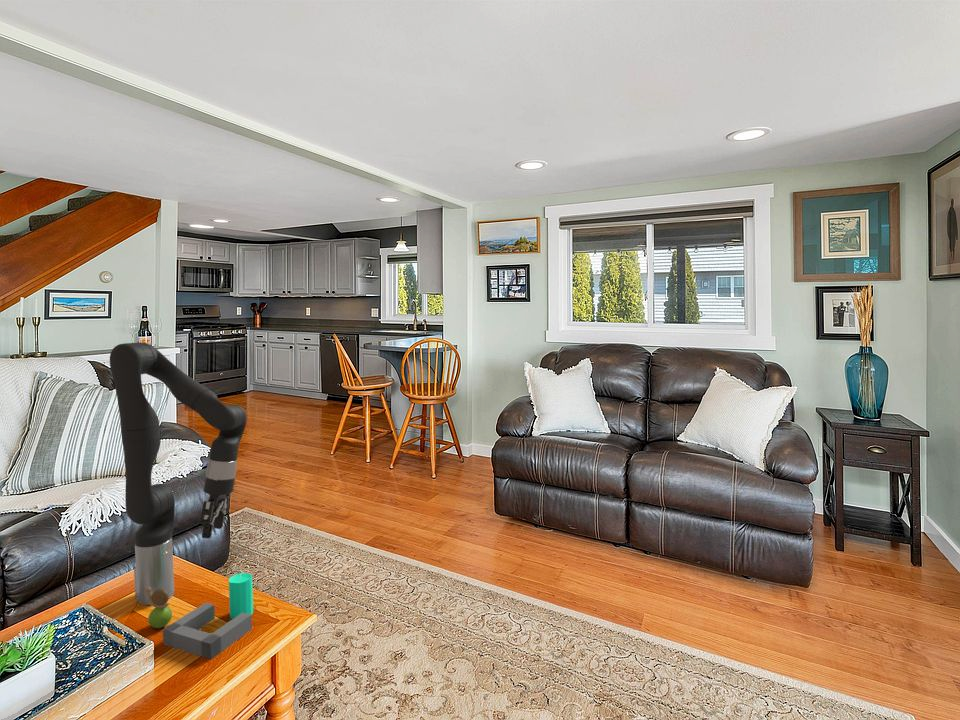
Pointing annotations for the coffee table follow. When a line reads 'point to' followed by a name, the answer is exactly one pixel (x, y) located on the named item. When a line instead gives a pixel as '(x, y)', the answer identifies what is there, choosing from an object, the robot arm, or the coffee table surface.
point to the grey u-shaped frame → (203, 643)
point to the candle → (240, 594)
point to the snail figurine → (158, 607)
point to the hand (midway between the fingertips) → (212, 532)
